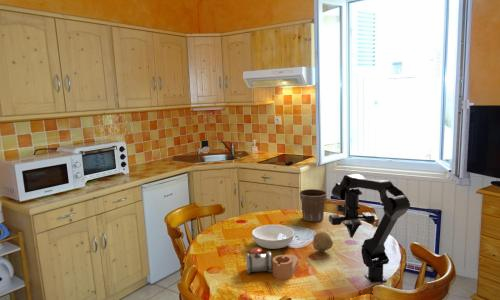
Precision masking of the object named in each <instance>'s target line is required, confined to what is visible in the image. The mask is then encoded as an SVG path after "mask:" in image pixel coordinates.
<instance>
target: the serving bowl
mask: <svg viewBox="0 0 500 300" xmlns="http://www.w3.org/2000/svg"><path fill="white" fill-rule="evenodd" d="M279 233H282V234H284V235H286V236H287V237H288V238H286V239H282V240H277V239H276V238H277V235H278V234H279ZM251 235H252V238H253V241H254V242H255V243H256V245H258V246H260V247H261V248H264V249H269V250H270V249H274V250H276V249H282V248H284V247H287V246H289V245H290V244H291V243H292V241H293V240H294V236H295V232H294V229H292V228H291V227H289V226H285V225H280V224H264V225H261V226H256V228H254V229H253V230H252V232H251Z"/></svg>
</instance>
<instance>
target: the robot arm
mask: <svg viewBox="0 0 500 300" xmlns="http://www.w3.org/2000/svg"><path fill="white" fill-rule="evenodd" d="M360 189H365V190H370V191H372V190H373V191H377V192H378V193H379V197H380V201H381V203H382V204H383V208H382V209H383V213H384V214H383V216H382V218H381V219H380V222H379V224H378V226H377V228H376V230H375V231H374V233H373V236H372V237H370V238H366V239H364V240H363V244H362V245H361V249H360V250H361V252H360V253H361V257H362V261H363V264H364V265H365V267H366V268H368V269H367V272H365V273H364V276H365V277H366V278H367V280H369V282H370V283H379V282H387V278H385V276H384V265H388V264H389V262H390V259H389V257H388V255H387V253H386V251H385V250H386V247H385V246H386V245H385V244H386V241H387V239H388V238H389V235H390V234H391V231H392V230H393V229H394V226H395V225H396V222H397V220H398V219H399V218H400V217H402V216H403V215H405V214H406V213H407V211H409V209H410V208H411V203H410V201H409V199H408V197H407V196H406V195H405V193H404V192H403V191H402V190H401V189H399V188H398V187H397V186H395V185H394V184H393V183H392V182H391V181H390V180H387V179H386V180H382V179H377V178H369V177H365V176H364V175H361V174H359V173H351V174H347V175H344V176H343V178H342V179H341V181H340V182H336V183H335V185H334V186H333V188H332V190H331V195H332V196H333V197H334V198H337V199H339V200H341V201H344V203H343V206H342V204H336V212H337V213H340V215H343V216H340V215H339V214H337V213H335V214H330V215H329V216H328V222H329V223H330V224H331V225H333V226H340V225H341V224H343V225H344V226H345V227H346V230H347V233H348V235H349V238H352V239H353V237H354V235H355V234H356V232H357V230H358V229H359V227H360V226H362V225H363V223H362V222H361V221H366V222H367V223H368V224H372V223H375V222H376V217H375V215H373V214H372V213H371V212H369V211H367V212H362V213H360V215H359V210H360V209H361V207H360V206H359V203H360V202H359V200H360V199H359V196H360V195H363V192H362V191H361V190H360ZM387 192H388V193H389V194H391V195H392V196H391V197H389V196H388V194H387Z"/></svg>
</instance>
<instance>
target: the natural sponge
mask: <svg viewBox="0 0 500 300" xmlns="http://www.w3.org/2000/svg"><path fill="white" fill-rule="evenodd" d="M333 245H334V241H333V239H332V237H331V236H330V234H329V233H328V232H326V231H325V230H324V231H317V232H316V233H315V234H314V236H313V242H312V246H313V249H314V250H315V251H318V252H320V253H323V252H326V251H327V250H330V249H332V247H333Z"/></svg>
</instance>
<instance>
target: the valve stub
mask: <svg viewBox="0 0 500 300" xmlns="http://www.w3.org/2000/svg"><path fill="white" fill-rule="evenodd" d="M262 252H263V249H262V247H252V248H250V253H251V254H250V253H245V254H246V255H245V256H246V259H245V260H246V261H245V262H246V272H247V274H251V273H254V272H255V273H256V272H267V273H273V254H272V252H271V250H270V251H266V253H262Z"/></svg>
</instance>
